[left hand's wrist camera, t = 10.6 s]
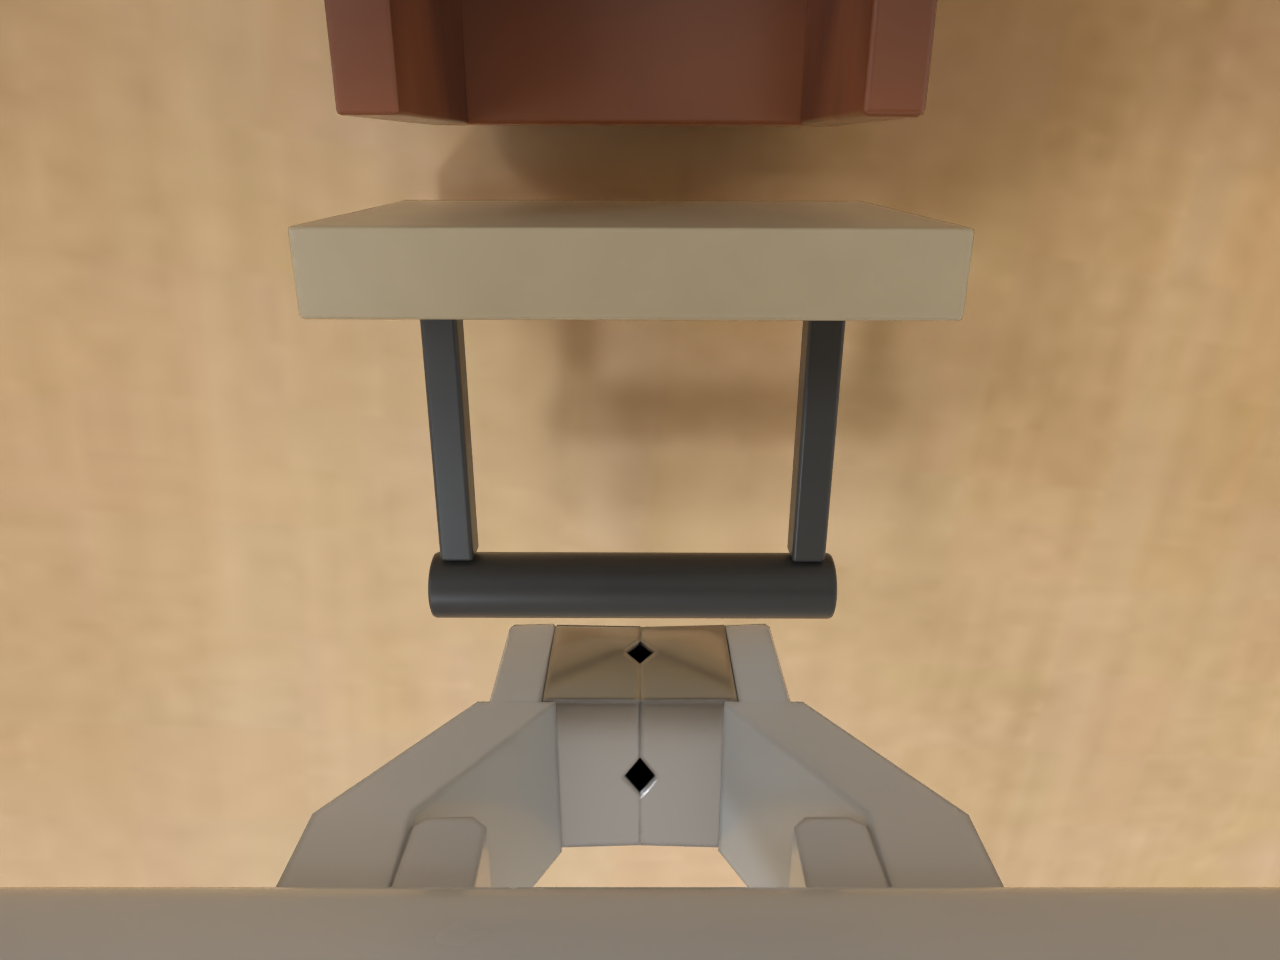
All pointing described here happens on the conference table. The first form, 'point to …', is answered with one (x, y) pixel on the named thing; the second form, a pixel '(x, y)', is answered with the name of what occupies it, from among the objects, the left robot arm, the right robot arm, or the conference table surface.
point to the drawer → (631, 246)
